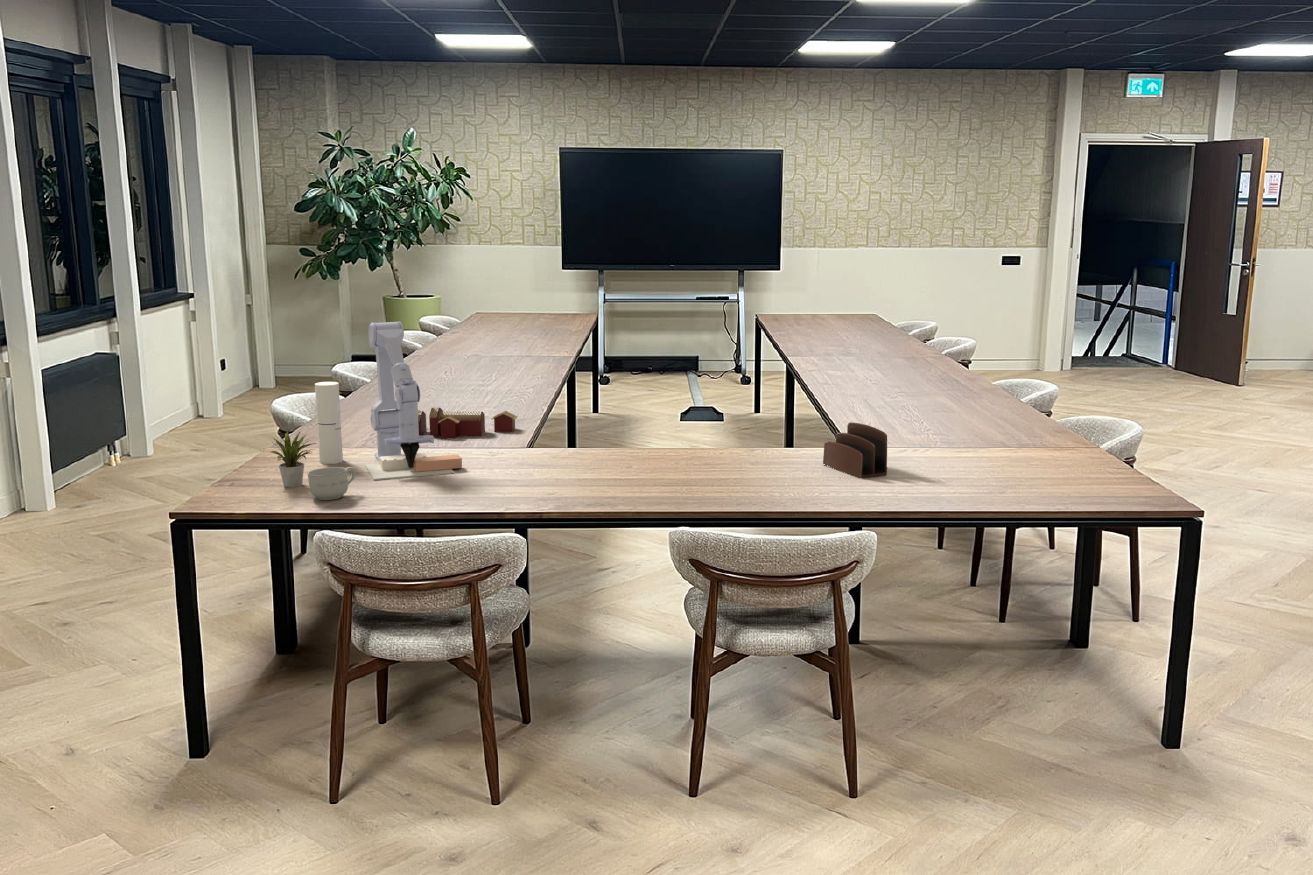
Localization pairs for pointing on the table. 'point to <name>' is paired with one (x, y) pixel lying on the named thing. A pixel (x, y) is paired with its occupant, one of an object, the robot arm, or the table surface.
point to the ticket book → (396, 461)
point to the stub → (437, 463)
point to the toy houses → (462, 423)
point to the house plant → (292, 460)
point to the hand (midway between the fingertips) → (410, 467)
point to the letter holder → (858, 451)
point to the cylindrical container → (328, 422)
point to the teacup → (329, 482)
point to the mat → (401, 472)
